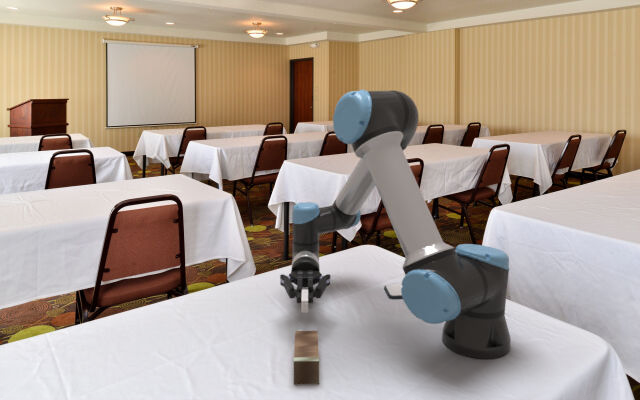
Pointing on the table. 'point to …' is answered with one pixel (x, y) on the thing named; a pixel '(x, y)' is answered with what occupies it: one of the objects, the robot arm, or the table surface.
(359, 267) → the table surface
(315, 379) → the walnut block
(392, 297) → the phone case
